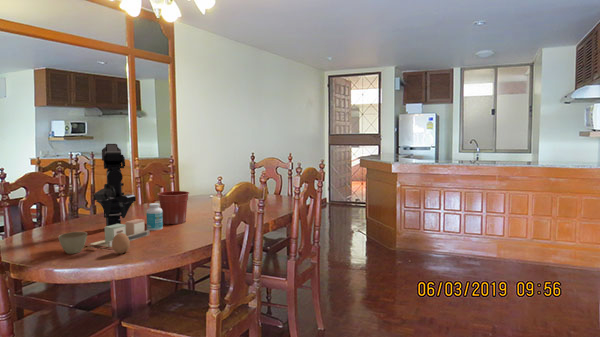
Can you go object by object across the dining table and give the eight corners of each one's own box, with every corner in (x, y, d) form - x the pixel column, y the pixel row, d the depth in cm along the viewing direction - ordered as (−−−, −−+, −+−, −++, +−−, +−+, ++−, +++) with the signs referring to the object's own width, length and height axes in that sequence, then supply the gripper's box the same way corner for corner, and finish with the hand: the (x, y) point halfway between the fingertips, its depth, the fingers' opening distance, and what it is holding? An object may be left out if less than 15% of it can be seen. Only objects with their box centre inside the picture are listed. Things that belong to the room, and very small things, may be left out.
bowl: (66, 248, 164) (66, 231, 164) (92, 248, 165) (91, 231, 165) (54, 256, 154) (53, 238, 154) (80, 255, 155) (80, 237, 155)
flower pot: (184, 225, 208) (183, 195, 207) (153, 225, 208) (152, 195, 207) (193, 219, 224) (193, 191, 223) (164, 219, 225) (163, 190, 224)
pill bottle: (157, 233, 192) (156, 205, 191) (143, 232, 193) (142, 204, 192) (165, 229, 199) (165, 202, 198) (152, 229, 200) (151, 202, 199)
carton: (125, 237, 179) (125, 221, 178) (137, 233, 185) (137, 219, 185) (133, 238, 177) (133, 222, 177) (145, 234, 184) (144, 219, 183)
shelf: (89, 246, 168) (88, 238, 167) (129, 235, 188) (129, 227, 188) (110, 249, 163) (110, 241, 163) (150, 237, 183) (149, 230, 183)
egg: (132, 251, 161) (132, 231, 161) (126, 255, 155) (125, 235, 154) (116, 251, 161) (115, 231, 161) (109, 255, 155) (108, 235, 154)
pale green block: (105, 243, 169) (104, 226, 168) (118, 239, 175) (117, 223, 175) (113, 244, 167) (112, 227, 166) (126, 240, 173) (126, 224, 173)
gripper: (81, 182, 167) (83, 218, 168) (115, 184, 160) (116, 223, 161) (104, 179, 177) (105, 213, 179) (136, 181, 170) (137, 217, 172)
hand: (115, 217), depth 172 cm, fingers open, 9 cm apart
